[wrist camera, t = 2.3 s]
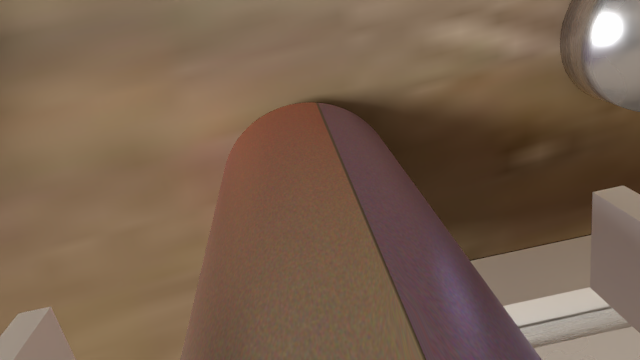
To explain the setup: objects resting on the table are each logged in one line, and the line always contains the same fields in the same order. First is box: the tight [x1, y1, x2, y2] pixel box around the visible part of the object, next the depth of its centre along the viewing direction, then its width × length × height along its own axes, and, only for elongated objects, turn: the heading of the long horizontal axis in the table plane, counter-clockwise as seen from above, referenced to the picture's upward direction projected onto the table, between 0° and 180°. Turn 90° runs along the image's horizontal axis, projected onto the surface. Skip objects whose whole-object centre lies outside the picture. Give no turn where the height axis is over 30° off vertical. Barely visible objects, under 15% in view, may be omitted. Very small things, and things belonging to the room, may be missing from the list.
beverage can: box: [180, 102, 542, 360], centre depth 11 cm, size 6×6×15 cm
